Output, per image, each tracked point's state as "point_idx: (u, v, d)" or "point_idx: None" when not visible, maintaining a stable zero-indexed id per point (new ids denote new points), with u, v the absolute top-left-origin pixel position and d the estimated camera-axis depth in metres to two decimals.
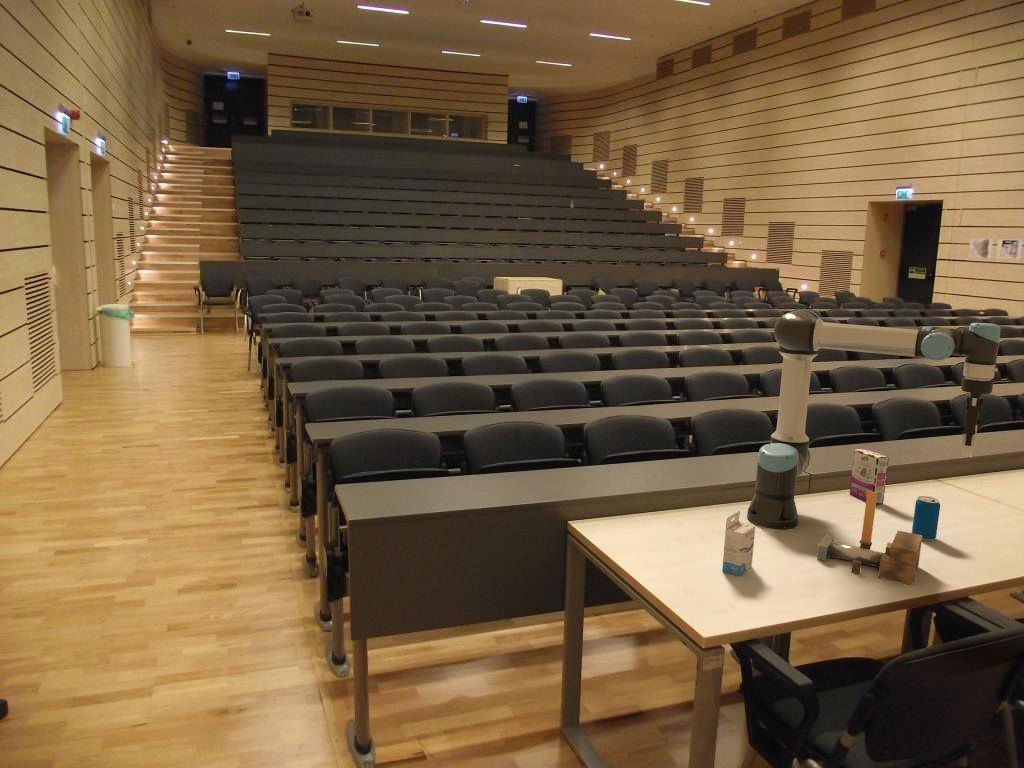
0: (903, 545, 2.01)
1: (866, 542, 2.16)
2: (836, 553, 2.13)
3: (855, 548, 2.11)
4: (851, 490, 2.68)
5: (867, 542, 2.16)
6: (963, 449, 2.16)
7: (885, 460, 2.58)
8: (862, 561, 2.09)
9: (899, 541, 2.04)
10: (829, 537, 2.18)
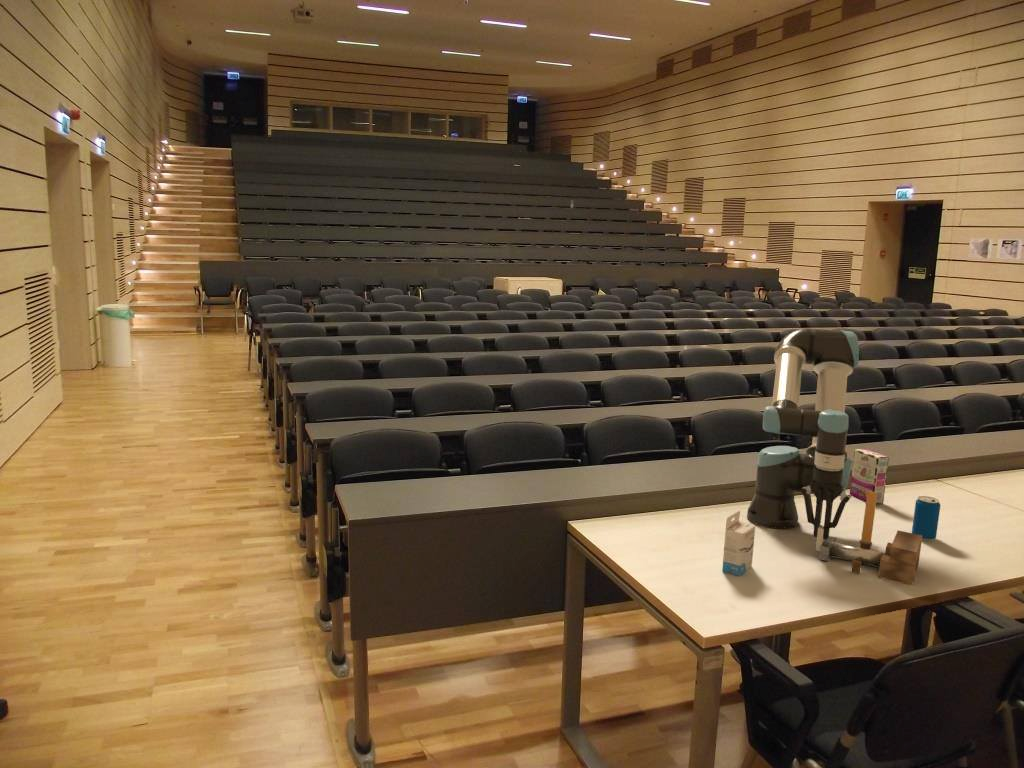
0: (903, 545, 2.01)
1: (866, 542, 2.16)
2: (838, 554, 2.12)
3: (857, 548, 2.11)
4: (851, 490, 2.68)
5: (867, 542, 2.16)
6: None
7: (885, 460, 2.58)
8: (864, 562, 2.09)
9: (899, 541, 2.04)
10: (831, 537, 2.18)
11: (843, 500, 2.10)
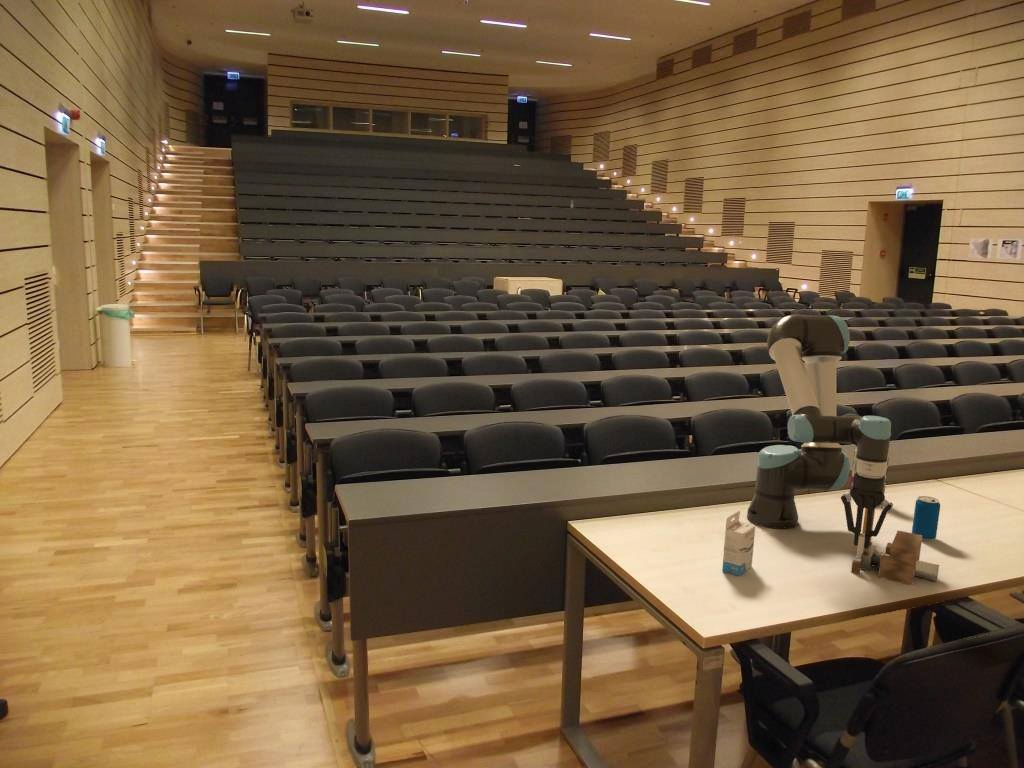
0: (903, 545, 2.01)
1: None
2: (879, 563, 2.07)
3: None
4: None
5: None
6: None
7: None
8: None
9: (899, 541, 2.04)
10: (872, 546, 2.13)
11: (885, 508, 2.05)
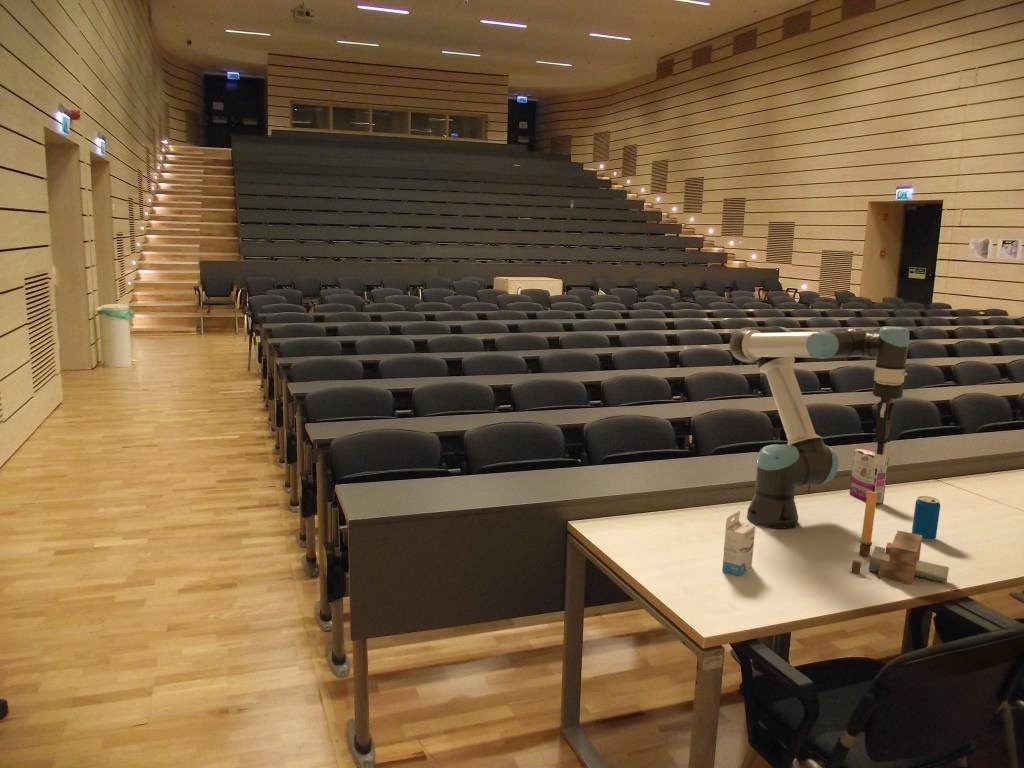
0: (903, 545, 2.01)
1: (866, 542, 2.16)
2: None
3: None
4: (851, 490, 2.68)
5: (867, 542, 2.16)
6: (875, 457, 2.19)
7: (885, 460, 2.58)
8: (917, 573, 2.02)
9: (899, 541, 2.04)
10: (881, 548, 2.12)
11: None
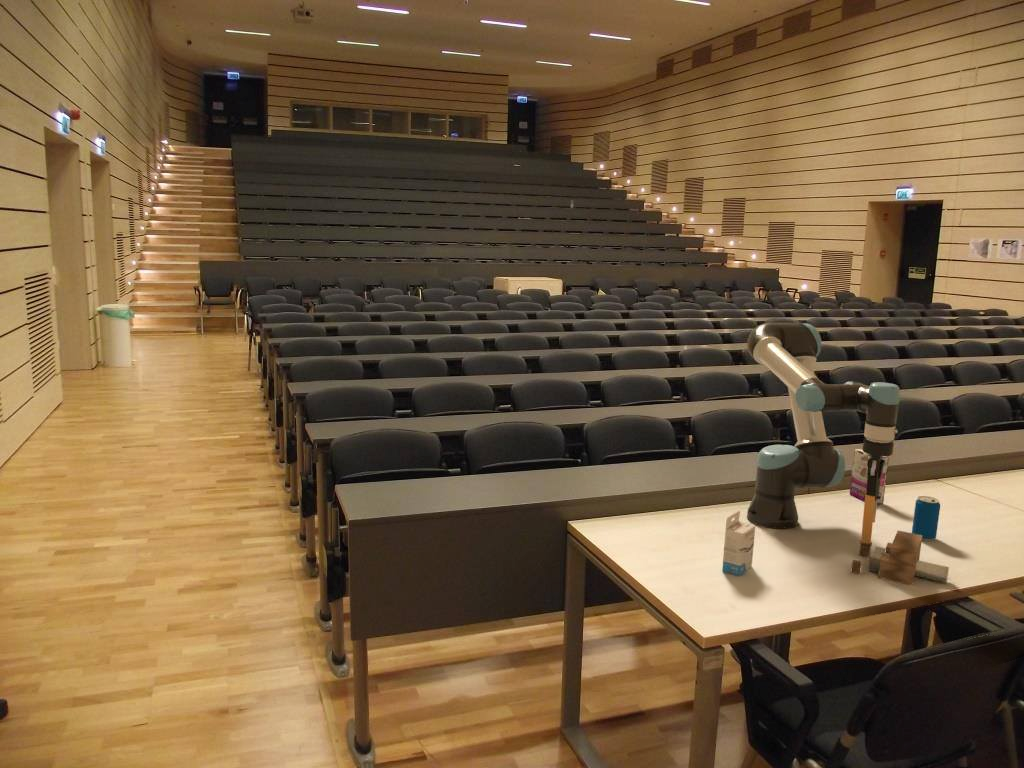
0: (903, 545, 2.01)
1: (866, 542, 2.16)
2: None
3: None
4: (851, 490, 2.68)
5: (867, 542, 2.16)
6: None
7: (885, 460, 2.58)
8: (917, 573, 2.02)
9: (899, 541, 2.04)
10: (881, 548, 2.12)
11: None
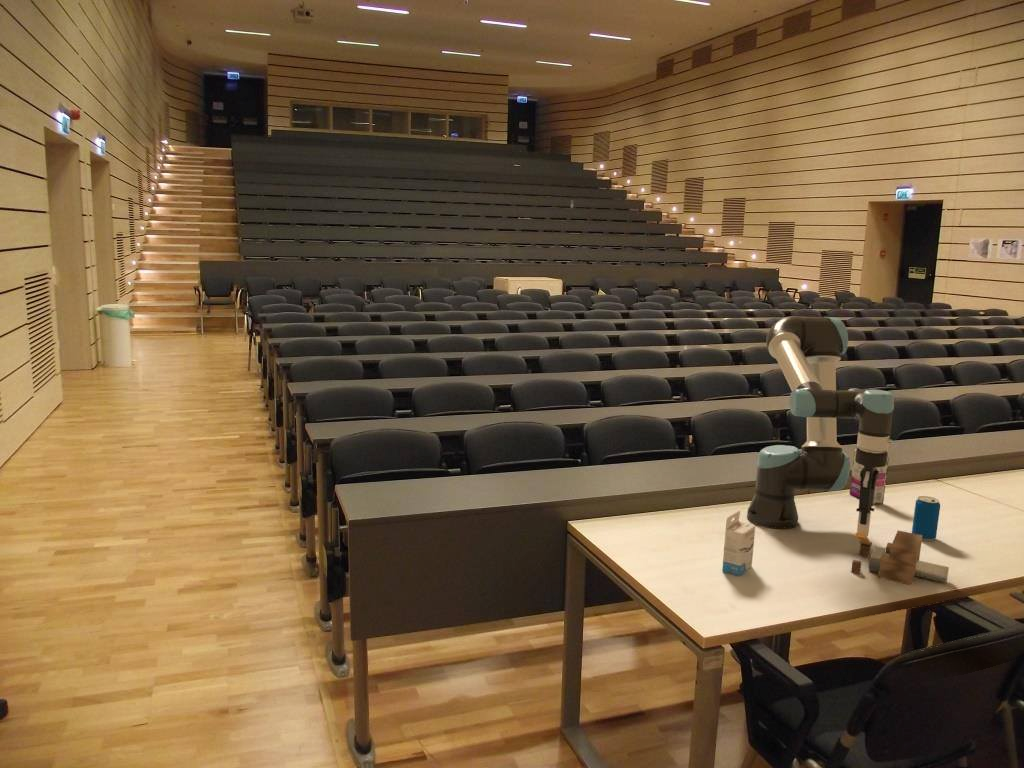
0: (903, 545, 2.01)
1: (866, 544, 2.16)
2: None
3: None
4: (851, 490, 2.68)
5: (867, 544, 2.16)
6: (859, 527, 2.07)
7: None
8: (917, 573, 2.02)
9: (899, 541, 2.04)
10: (881, 548, 2.12)
11: None
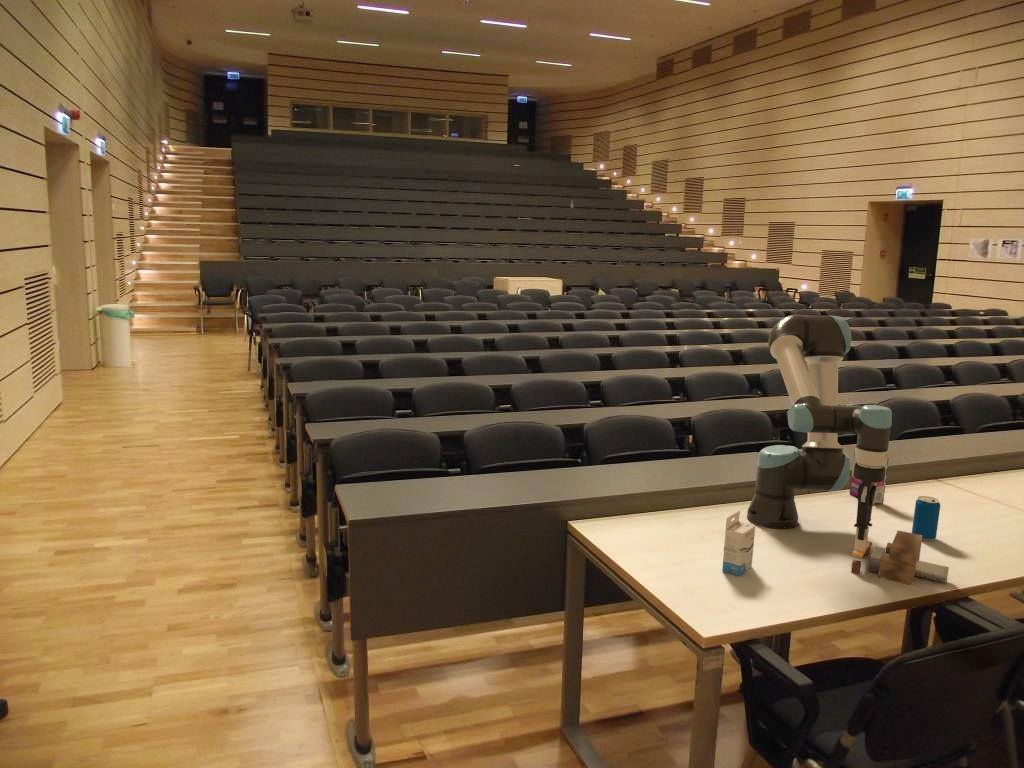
0: (903, 545, 2.01)
1: None
2: None
3: None
4: (851, 490, 2.68)
5: None
6: (856, 543, 2.07)
7: None
8: (917, 573, 2.02)
9: (899, 541, 2.04)
10: (881, 548, 2.12)
11: None
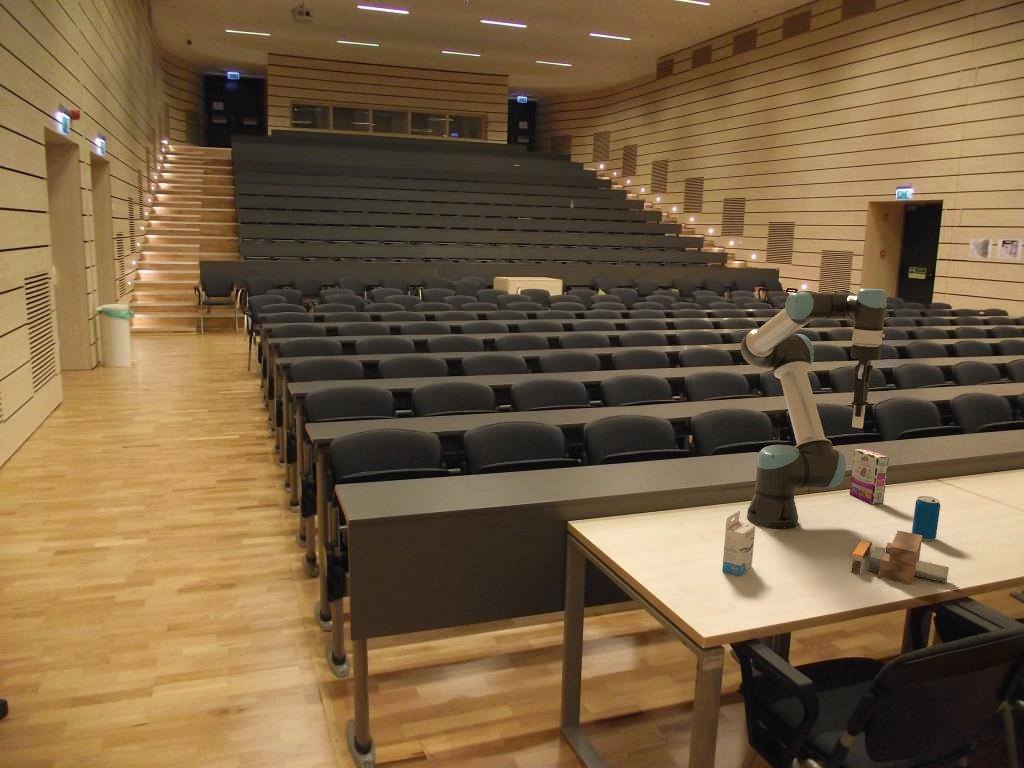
0: (903, 545, 2.01)
1: None
2: None
3: None
4: (851, 490, 2.68)
5: None
6: (854, 420, 2.20)
7: (885, 460, 2.58)
8: (917, 573, 2.02)
9: (899, 541, 2.04)
10: (881, 548, 2.12)
11: None
